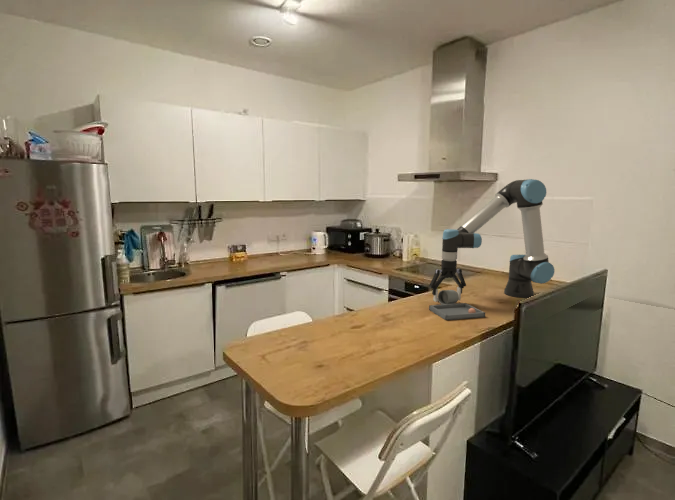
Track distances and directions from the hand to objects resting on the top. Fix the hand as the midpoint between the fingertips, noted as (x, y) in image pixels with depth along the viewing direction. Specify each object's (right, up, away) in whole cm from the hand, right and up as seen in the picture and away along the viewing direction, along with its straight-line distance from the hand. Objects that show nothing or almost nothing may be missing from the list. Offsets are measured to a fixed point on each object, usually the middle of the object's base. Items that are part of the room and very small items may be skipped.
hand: (446, 300), depth 192 cm
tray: (0, -4, -16) cm, 16 cm away
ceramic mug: (0, -2, +1) cm, 2 cm away
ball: (+4, -3, -20) cm, 21 cm away
